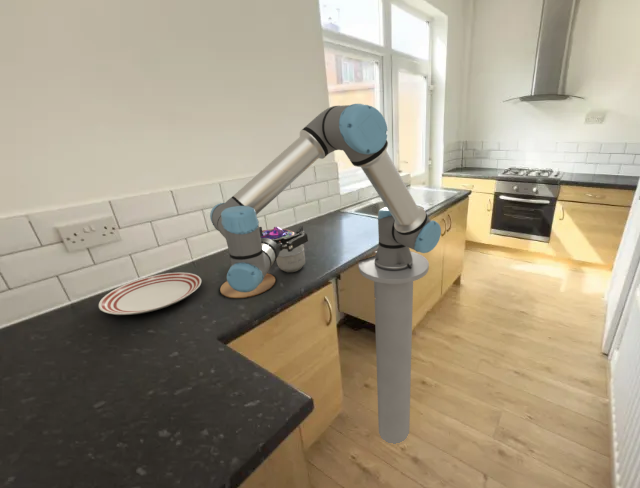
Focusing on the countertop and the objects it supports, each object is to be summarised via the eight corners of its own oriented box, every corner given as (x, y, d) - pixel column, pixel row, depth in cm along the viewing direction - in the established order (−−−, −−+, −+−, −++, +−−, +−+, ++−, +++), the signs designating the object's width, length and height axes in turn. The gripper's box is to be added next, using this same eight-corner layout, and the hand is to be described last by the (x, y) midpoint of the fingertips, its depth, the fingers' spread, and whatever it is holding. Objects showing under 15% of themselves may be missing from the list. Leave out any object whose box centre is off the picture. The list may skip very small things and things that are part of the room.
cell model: (242, 253, 137) (237, 228, 132) (287, 242, 148) (284, 219, 143) (254, 266, 124) (249, 239, 120) (302, 254, 135) (299, 229, 131)
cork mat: (286, 279, 115) (286, 278, 114) (245, 303, 100) (245, 302, 100) (251, 269, 122) (250, 268, 122) (208, 290, 108) (208, 289, 108)
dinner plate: (122, 286, 111) (119, 277, 110) (208, 273, 119) (206, 265, 118) (84, 331, 88) (79, 321, 86) (195, 312, 96) (192, 303, 94)
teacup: (291, 277, 116) (288, 257, 112) (271, 271, 121) (267, 251, 118) (317, 263, 126) (315, 245, 123) (298, 258, 132) (295, 240, 128)
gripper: (219, 268, 89) (246, 241, 108) (308, 266, 90) (319, 239, 109) (213, 243, 86) (242, 220, 105) (306, 241, 87) (317, 218, 106)
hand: (281, 230), depth 107 cm, fingers open, 13 cm apart
